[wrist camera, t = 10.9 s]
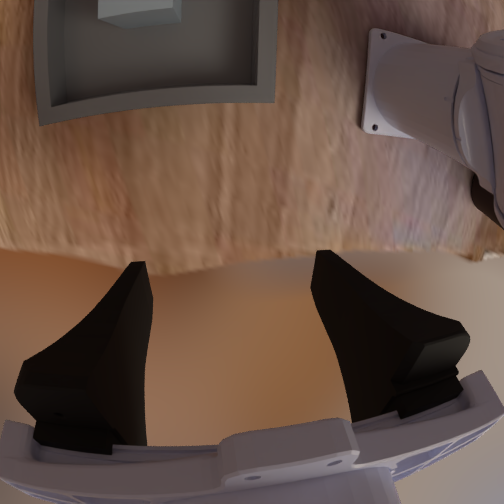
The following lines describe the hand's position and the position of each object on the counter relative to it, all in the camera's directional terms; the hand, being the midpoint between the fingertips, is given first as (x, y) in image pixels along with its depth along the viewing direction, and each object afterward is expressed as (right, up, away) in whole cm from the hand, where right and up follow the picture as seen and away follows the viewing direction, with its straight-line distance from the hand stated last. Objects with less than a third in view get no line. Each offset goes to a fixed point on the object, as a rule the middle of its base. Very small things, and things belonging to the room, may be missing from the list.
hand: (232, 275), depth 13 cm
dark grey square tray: (-5, +16, +1) cm, 17 cm away
